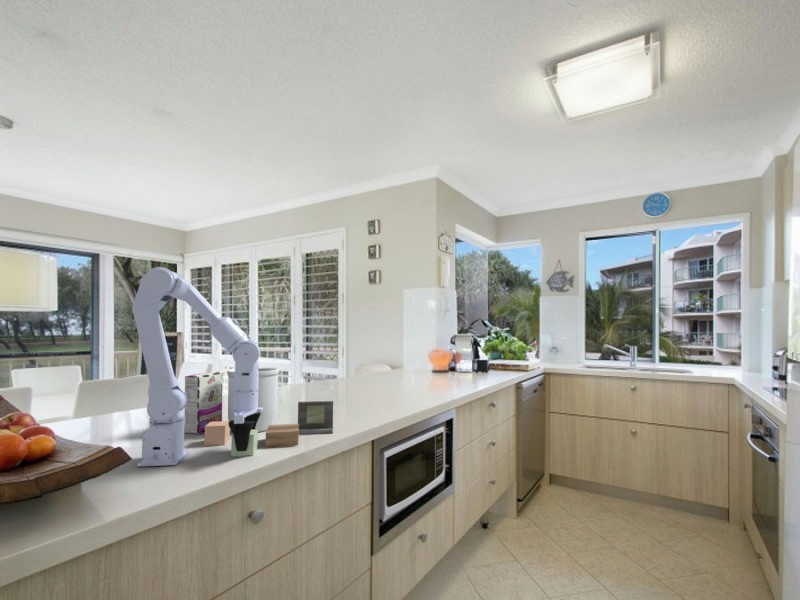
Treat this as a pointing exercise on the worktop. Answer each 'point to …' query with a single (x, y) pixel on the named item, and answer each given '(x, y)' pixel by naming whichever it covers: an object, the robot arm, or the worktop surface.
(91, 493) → the worktop surface
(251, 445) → the sage cube
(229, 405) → the utensil holder
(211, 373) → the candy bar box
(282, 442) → the walnut base block
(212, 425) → the terracotta cube
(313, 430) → the dark grey box
